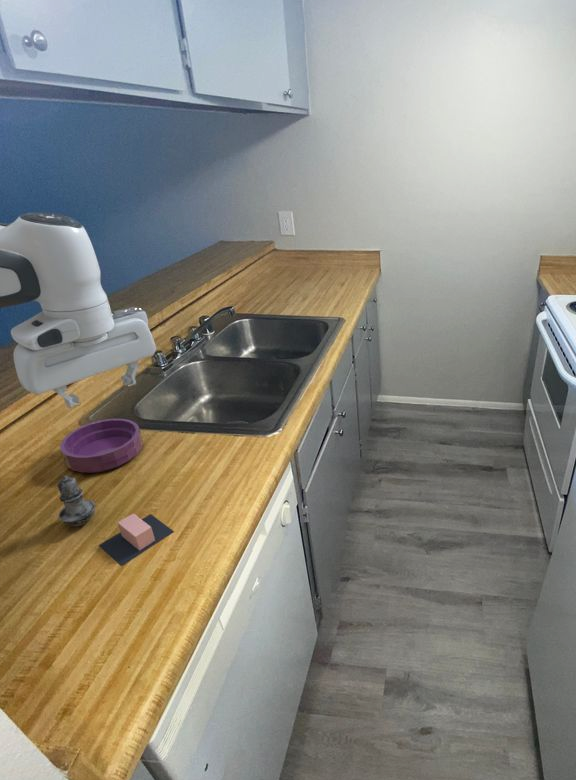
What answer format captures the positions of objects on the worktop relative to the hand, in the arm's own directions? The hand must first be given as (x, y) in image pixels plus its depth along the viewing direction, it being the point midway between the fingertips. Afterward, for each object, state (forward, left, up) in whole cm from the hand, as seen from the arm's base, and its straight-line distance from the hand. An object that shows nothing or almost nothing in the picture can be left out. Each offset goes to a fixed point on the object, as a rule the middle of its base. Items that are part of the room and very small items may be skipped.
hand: (103, 394), depth 82 cm
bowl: (+6, +24, -27) cm, 37 cm away
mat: (-4, -7, -27) cm, 28 cm away
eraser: (-4, -7, -26) cm, 28 cm away
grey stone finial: (-8, +5, -27) cm, 29 cm away
